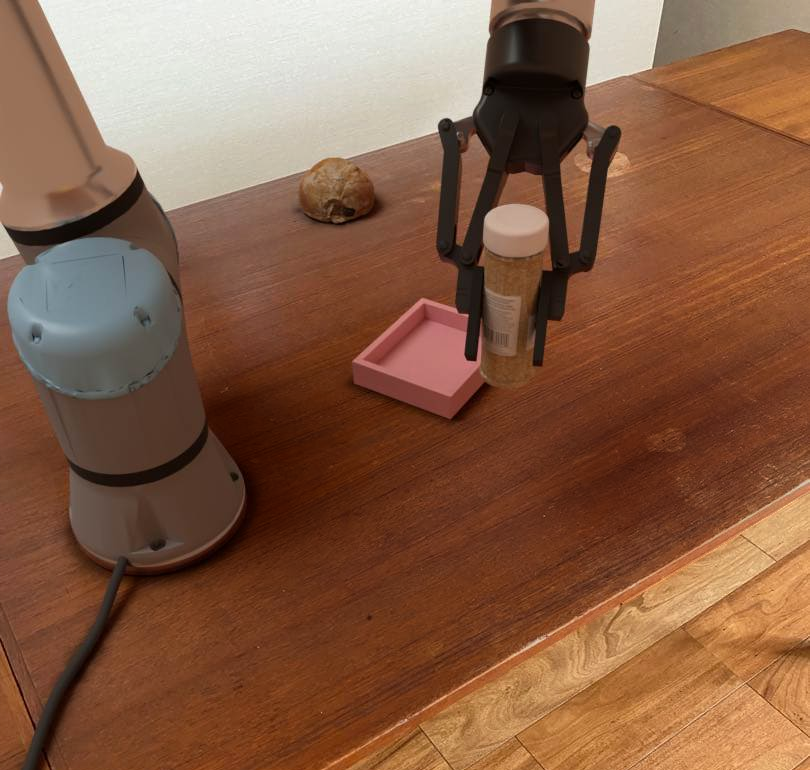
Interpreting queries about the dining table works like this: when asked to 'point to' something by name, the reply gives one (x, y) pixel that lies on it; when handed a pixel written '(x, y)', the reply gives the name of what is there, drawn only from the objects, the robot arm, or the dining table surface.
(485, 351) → the spice jar
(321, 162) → the bread roll
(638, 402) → the dining table surface
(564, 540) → the dining table surface
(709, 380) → the dining table surface
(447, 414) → the pink tray
